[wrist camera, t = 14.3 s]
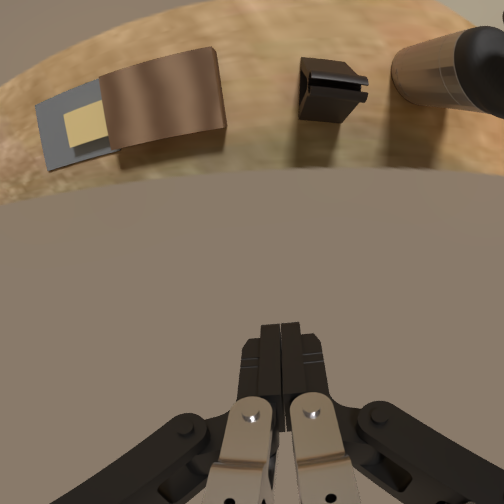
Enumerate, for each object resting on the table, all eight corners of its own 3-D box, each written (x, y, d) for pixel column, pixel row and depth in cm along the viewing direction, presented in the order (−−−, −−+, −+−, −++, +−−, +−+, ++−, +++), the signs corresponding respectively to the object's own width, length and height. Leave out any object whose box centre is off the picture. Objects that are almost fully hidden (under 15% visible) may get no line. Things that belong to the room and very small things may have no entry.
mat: (108, 75, 38) (106, 75, 38) (120, 150, 43) (119, 150, 43) (36, 105, 40) (35, 105, 39) (49, 170, 45) (47, 171, 45)
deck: (216, 51, 37) (211, 46, 33) (227, 125, 41) (223, 127, 38) (111, 78, 38) (98, 77, 35) (122, 146, 43) (111, 150, 40)
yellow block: (112, 98, 39) (105, 98, 38) (118, 132, 42) (112, 134, 40) (70, 113, 40) (63, 114, 39) (76, 145, 43) (70, 147, 41)
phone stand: (300, 57, 37) (312, 40, 26) (344, 62, 37) (370, 49, 26) (297, 119, 41) (308, 124, 30) (340, 123, 40) (365, 130, 30)
